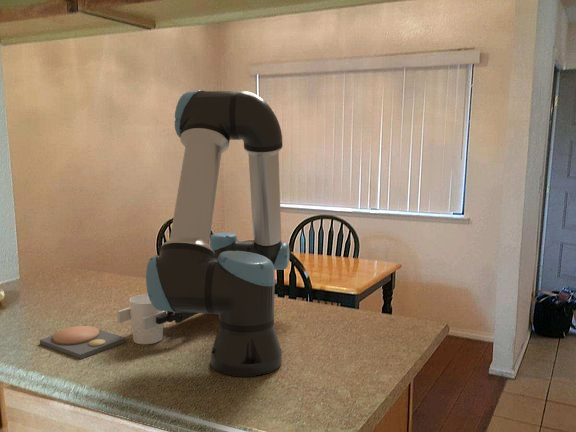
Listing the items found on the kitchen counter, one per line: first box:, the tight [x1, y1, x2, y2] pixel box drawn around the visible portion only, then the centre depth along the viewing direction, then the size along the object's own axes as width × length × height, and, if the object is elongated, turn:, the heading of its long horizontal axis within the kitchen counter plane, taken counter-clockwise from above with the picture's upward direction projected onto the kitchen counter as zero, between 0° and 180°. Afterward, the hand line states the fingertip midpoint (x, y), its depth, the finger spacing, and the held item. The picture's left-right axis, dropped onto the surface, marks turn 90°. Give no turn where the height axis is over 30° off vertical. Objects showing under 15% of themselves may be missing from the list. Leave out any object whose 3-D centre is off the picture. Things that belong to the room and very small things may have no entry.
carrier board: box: [39, 324, 127, 360], centre depth 119 cm, size 15×12×2 cm
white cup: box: [129, 293, 164, 345], centre depth 121 cm, size 8×8×10 cm
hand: (130, 320), depth 117 cm, fingers closed on white cup, 8 cm apart
